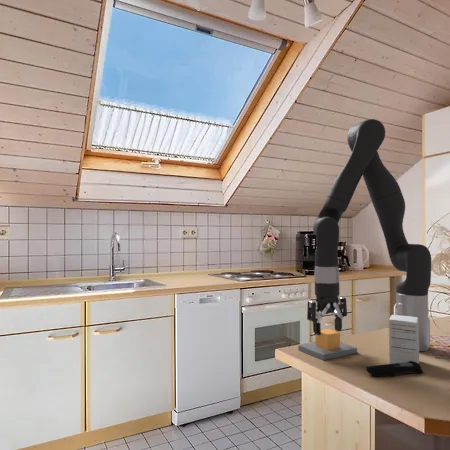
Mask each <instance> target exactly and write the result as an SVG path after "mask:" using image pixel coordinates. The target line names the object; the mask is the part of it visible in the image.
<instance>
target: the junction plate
mask: <svg viewBox="0 0 450 450" xmlns="http://www.w3.org/2000/svg"><path fill="white" fill-rule="evenodd" d="M297 347H298V349H297V350H298V351H300V352H302V353H305V354H307V355H310V356H312V357H315V358H317V359H320V360H321V361H325V360H330V359H335V358H340V357H346V356H348V355H349V354H350V355H353V353H354V354H358V347H356V346H352V345H350V344H346V343H344V342H341V341H340V348H335V349H330V350H326V349H323V348H321V347H318V346H316V341H313V342H308V343H303V344H299V345H298V346H297Z"/></svg>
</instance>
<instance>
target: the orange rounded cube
mask: <svg viewBox="0 0 450 450" xmlns="http://www.w3.org/2000/svg"><path fill="white" fill-rule="evenodd" d="M315 342H316V346H318V347H321V348H323V349H326V350H330V349H335V348H340V342H341V331H336V330H334V329H330V328H325V329H321V335H316V334H315Z"/></svg>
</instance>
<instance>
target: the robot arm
mask: <svg viewBox="0 0 450 450" xmlns="http://www.w3.org/2000/svg"><path fill="white" fill-rule="evenodd" d="M385 137H386V128H385V125H384V124H383V123H382V122H381V121H380V120H378V119H374V118H372V119H371V118H369V119H365V120H362V121H360V122H358V123H356V124H354V125H353V126H351V127H350V129H349V130H348V132H347V140H346V141H347V144H348V147H349V149H350V151H351V154H350V156H349V158H348V160H347V162H346V163H345V165H344V166H343V168H342V169H341V170H340V172H339V173H338V175H337V177H336V178H335V179H334V181H333V183H332V185H331V187H330V189H329V191H328V194H327V196H326V199H325V201H324V204H323V206H322V208H321V210H320V212H319V213H318V214H317V217H316V219H315V221H314V223H313V227H312V228H313V229H312V231H313V233H314V235H315V236H316V239H315V240H316V249H315V251H314V273H313V274H314V279H313V280H314V295H315V297H316V298H315V300H308V301H307V310H306V311H307V312H306V313H307V318H306V320H307V321H310V322H312V329H313V330H312V332H313V333H314V335H315V336H316V335H321V330H322V329H321V326H322V325H321V320H322V319H323V318H324V317H325V315H328V314H332V315H333V316H334V331H337V332H342V329H343V318H344V317H347V316H348V308H347V307H348V306H347V298H346V297H343V296H342V297H341V296H340V294H341V293H340V271H339V254H338V252H339V251H338V248H339V243H340V225H339V222H340V219H341V218H342V215H343V214H344V213H345V212H346V211H347V209H348V207H349V205H350V203H351V201H352V198H353V196H354V194H355V191H356V189H357V187H358V185H359V182H360V181H361V178H363V180H364V183H365V186H366V188H367V191H368V194H369V198H370V201H371V203H372V206H373V208H374V211H375V213H376V216H377V218H378V222H379V224H380V227H381V229H382V230H381V231H382V234H383V237H384V239H385V244H386V247H387V253H388V256H389V259H390V262H391V264H392V266H393V267H394V268H395V269H396V270H398V271H400V272H404V273H406V276H405V279H404V281H402V282H399V283H397V284H396V286H395V289H396V290H395V291H396V292H395V295H396V296H395V297H396V298H395V300H396V310H395V311H396V315H400V316H411V317H418V331H419V352H425V351H429V348H431V318H430V317H429V289H430V286H431V282H432V281H431V280H432V254H431V251H430V250H429V248H428V247H427V246H426V245H424V244H419V243H417V244H416V243H409V242H408V240H407V237H406V235H405V231H404V227H403V226H404V225H403V222H404V217H405V213H406V200H405V198H404V195H403V192H402V190H401V187H400V184H399V182H398V181H397V179H396V178H395V177H394V176H393V174H392V173H391V172H390V171H389V170H388V169H387V167H386V166H385V165H384V163H383V162H382V160H381V156H380V155H379V151H378V150H379V148H380V147H381V145H382V144H383V143H384V140H385Z"/></svg>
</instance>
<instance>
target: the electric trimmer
mask: <svg viewBox="0 0 450 450" xmlns="http://www.w3.org/2000/svg"><path fill="white" fill-rule="evenodd" d="M366 372H367V373H368V374H370V375H372V376H374V377H375V376H377V377H381V376H382V377H395V376H396V375H402V374H403V375H405V374H416V373H418V374H420V375H422V374H423V373H424V370H423V368H422V367H421V365H420V363H419V364H418V363H416V362H413V361H409V362H407V363H395V364H390V363H386V364H385V363H384V364H378V365H376V364H375V365H368V366H366Z"/></svg>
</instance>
